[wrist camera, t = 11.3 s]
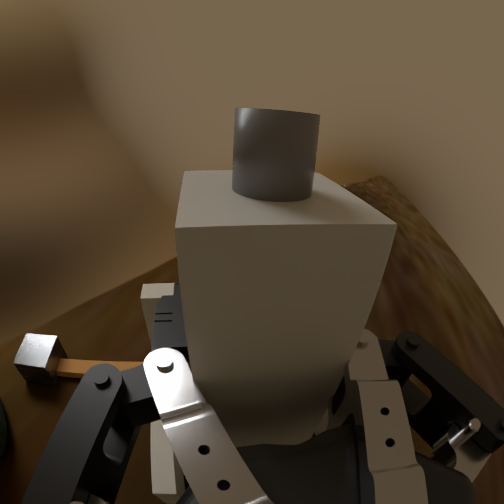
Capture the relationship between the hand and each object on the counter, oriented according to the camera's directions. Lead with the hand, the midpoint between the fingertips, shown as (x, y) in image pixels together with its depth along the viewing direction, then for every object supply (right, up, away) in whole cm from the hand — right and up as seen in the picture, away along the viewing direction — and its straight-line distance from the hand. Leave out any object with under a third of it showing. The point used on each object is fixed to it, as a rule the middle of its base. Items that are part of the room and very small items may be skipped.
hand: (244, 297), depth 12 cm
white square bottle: (0, -7, +1) cm, 7 cm away
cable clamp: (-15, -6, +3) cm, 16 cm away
